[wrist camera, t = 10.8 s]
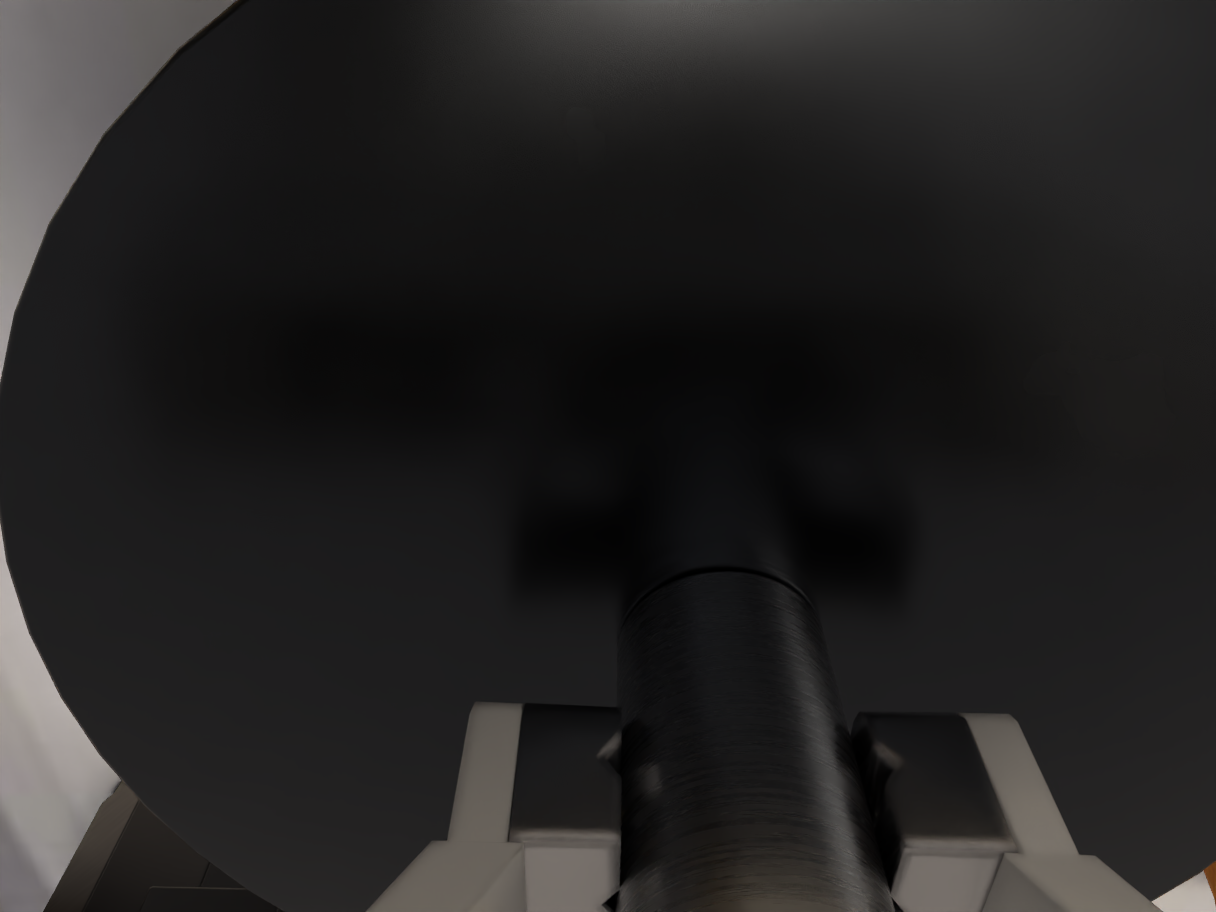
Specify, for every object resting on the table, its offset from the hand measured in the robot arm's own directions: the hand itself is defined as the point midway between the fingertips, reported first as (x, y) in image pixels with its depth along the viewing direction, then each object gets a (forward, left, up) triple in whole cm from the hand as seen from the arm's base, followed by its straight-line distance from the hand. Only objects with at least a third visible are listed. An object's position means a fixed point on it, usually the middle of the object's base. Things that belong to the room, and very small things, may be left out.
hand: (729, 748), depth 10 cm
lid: (0, 0, -2) cm, 2 cm away
